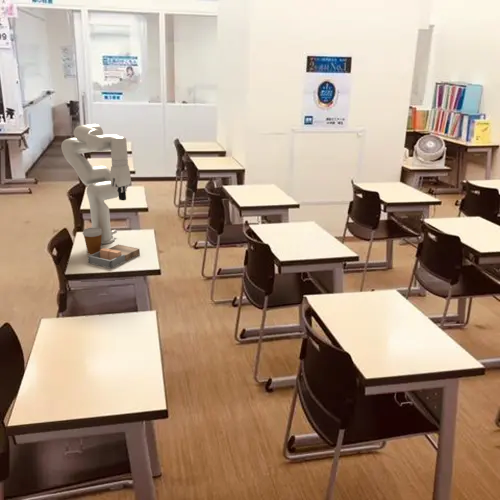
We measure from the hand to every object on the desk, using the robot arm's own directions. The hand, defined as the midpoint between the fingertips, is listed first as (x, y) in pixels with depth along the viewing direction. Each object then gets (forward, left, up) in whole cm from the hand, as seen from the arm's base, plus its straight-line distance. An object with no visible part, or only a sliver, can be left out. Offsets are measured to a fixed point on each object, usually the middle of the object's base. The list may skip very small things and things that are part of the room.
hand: (122, 199), depth 265 cm
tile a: (+13, -1, -24) cm, 27 cm away
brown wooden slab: (+5, +2, -27) cm, 28 cm away
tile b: (+12, +5, -24) cm, 28 cm away
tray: (+16, +2, -27) cm, 31 cm away
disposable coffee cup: (+9, -13, -27) cm, 32 cm away
